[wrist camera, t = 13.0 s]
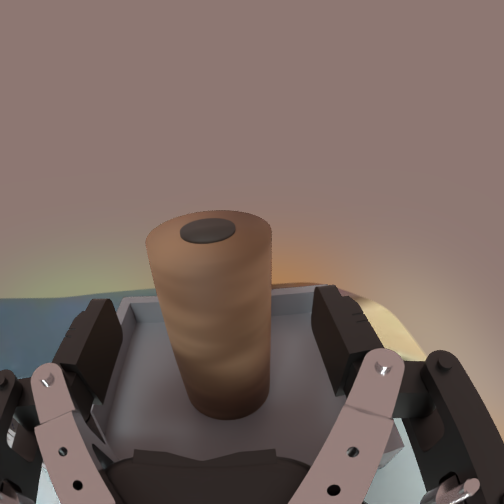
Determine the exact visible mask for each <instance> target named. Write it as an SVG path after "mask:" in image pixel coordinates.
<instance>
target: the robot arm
mask: <svg viewBox="0 0 504 504" xmlns="http://www.w3.org/2000/svg"><path fill="white" fill-rule="evenodd" d="M311 327H312V332H313V335H314V338H315V340H316V343H317V346H318V349H319V351H320V354H321V357H322V360H323V363H324V365H325V368H326V371H327V374H328V377H329V379H330V382H331V385H332V388H333V391H334V394H335V397H338V396H342V395H345V396H346V399H347V400H346V402H345V404H344V406H343V408H342V410H341V412H340V414H339V416H338V418H337V420H336V422H335V424H334V426H333V428H332V430H331V432H330V434H329V436H328V438H327V440H326V441H325V443H324V445H323V447H322V449H321V451H320V452H319V454H318V456H317V458H316V460H315V461H314V463H313V465H312V466H310V465H308V464H306V463H303V462H301V461H298V460H295V459H291V458H286V457H279V456H276V450H275V449H267V450H256V451H244V452H237V453H233V454H229V455H226V456H222V457H218V458H214V459H210V460H205V461H199V460H195V459H191V458H187V457H183V456H179V455H176V454H172V453H169V452H161V451H149V450H139V449H134V454H133V457H131V458H127V459H123V460H119V458H118V457H117V456H116V454H115V453H114V452H113V450H112V449H111V447H110V446H109V444H108V442H107V440H106V438H105V436H104V434H103V432H102V430H101V428H100V426H99V424H98V422H97V420H96V418H95V416H94V414H93V412H92V411H91V407H92V404H96V405H103V404H104V400H105V397H106V393H107V390H108V386H109V383H110V379H111V376H112V373H113V370H114V366H115V363H116V360H117V357H118V354H119V351H120V348H121V345H122V341H123V331H122V327H121V324H120V322H119V319H118V317H117V314H116V311H115V308H114V306H113V303H112V301H111V300H110V299H92V300H91V301H90V303H89V305H88V307H87V308H86V310H85V311H82V312H81V313H80V314H79V315H78V316H77V317H76V318H75V319H74V320H73V322H72V324H71V326H70V328H69V330H68V331H67V333H66V335H65V336H66V337H64V339H63V341H62V343H61V345H60V347H59V349H58V351H57V353H56V355H55V357H54V359H53V361H52V363H46V364H43V365H41V366H40V367H38V368H37V369H36V370H35V371H34V373H33V375H32V377H30V378H24V379H17V377H16V376H15V375H14V373H13V372H12V371H10V370H2V371H0V504H36V498H37V491H38V484H39V478H40V473H41V467H42V462H43V460H44V463H45V466H46V469H47V471H48V474H49V477H50V479H51V482H52V484H53V487H54V489H55V491H56V494H57V496H58V498H59V500H60V502H61V504H367V503H366V502H364V501H363V500H364V498H365V496H366V493H367V491H368V489H369V487H370V485H371V482H372V480H373V478H374V475H375V473H376V471H377V468H378V466H379V463H380V461H381V458H382V455H383V453H384V450H385V447H386V444H387V442H388V439H389V436H390V433H391V430H392V427H393V422H394V420H393V419H391V418H401V419H402V421H403V424H404V427H405V429H406V432H407V435H408V437H409V440H410V443H411V446H412V449H413V451H414V454H415V457H416V460H417V463H418V466H419V469H420V472H421V475H422V478H423V482H424V485H425V488H426V491H427V493H426V494H425V495H424V497H423V498H422V500H421V502H420V504H504V443H503V441H502V439H501V436H500V434H499V432H498V430H497V428H496V426H495V424H494V422H493V420H492V418H491V417H490V414H489V412H488V410H487V409H486V406H485V405H484V403H483V401H482V399H481V397H480V395H479V394H478V392H477V390H476V389H475V387H474V385H473V383H472V382H471V380H470V378H469V376H468V375H467V374H466V372H465V370H464V368H463V367H462V365H461V364H460V362H459V360H458V359H457V358H456V357H455V356H454V355H453V354H451V353H450V352H447V351H443V350H437V351H434V352H432V353H430V354H429V356H428V357H427V359H426V361H403V360H402V358H401V357H400V356H399V355H398V354H397V353H396V352H394V351H392V350H389V349H385V348H384V347H383V345H382V343H381V341H380V340H379V338H378V336H377V334H376V333H375V331H374V329H373V328H372V326H371V324H370V323H369V322H368V319H367V317H366V316H365V314H363V311H362V309H361V308H360V306H359V304H358V303H357V302H356V301H354V300H353V299H352V298H350V297H349V296H344V297H342V296H341V294H340V292H339V291H338V289H337V287H336V286H335V285H326V286H316V287H315V289H314V296H313V305H312V313H311ZM12 418H14V419H15V420H16V421H17V422H18V423H19V424H18V427H17V430H16V434H15V437H14V441H13V444H12V448H10V446H9V445H8V442H7V433H8V430H9V427H10V424H11V421H12Z"/></svg>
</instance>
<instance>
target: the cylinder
mask: <svg viewBox="0 0 504 504" xmlns="http://www.w3.org/2000/svg"><path fill="white" fill-rule="evenodd" d="M271 233H272V231H271V227H270V225H269V224H268V223H267V222H266V221H265V220H263V219H262V218H260V217H258V216H255V215H252V214H249V213H244V212H238V211H226V210H216V211H203V212H196V213H191V214H187V215H183V216H180V217H176V218H173V219H171V220H169V221H166V222H164V223H162V224H160V225H159V226H157V227H156V228H155V229H153V230H152V231H151V232H150V233H149V235H148V236H147V238H146V248H147V253H148V258H149V262H150V267H151V271H152V276H153V280H154V284H155V288H156V292H157V296H158V300H159V304H160V308H161V311H162V315H163V319H164V322H165V326H166V329H167V333H168V336H169V340H170V343H171V346H172V349H173V353H174V356H175V359H176V362H177V365H178V368H179V371H180V374H181V377H182V380H183V383H184V386H185V389H186V391H187V394H188V397H189V400H190V401H191V403H192V405H193V406H194V407H195V408H196V409H197V410H198V411H199V412H201V413H202V414H204V415H206V416H208V417H210V418H214V419H218V420H236V419H241V418H244V417H246V416H249V415H251V414H252V413H254V412H255V411H257V410H258V409H259V408H260V407H261V406H262V405H263V404H264V402H265V401H266V399H267V397H268V394H269V389H270V352H271V271H272V270H271V269H272V268H271V267H272V266H271V265H272V264H271V263H272V262H271V259H272V251H271V250H272V249H271V248H272V243H271V242H272V238H271V237H272V234H271Z"/></svg>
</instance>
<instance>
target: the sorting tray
mask: <svg viewBox="0 0 504 504" xmlns="http://www.w3.org/2000/svg"><path fill="white" fill-rule="evenodd" d="M326 285H327V284H325V285H315V286H304V287H293V288H281V289H271V352H270V389H269V394H268V397H267V399H266V401H265V402H264V404H263V405H262V406H261V407H260V408H259V409H258V410H257V411H255V412H254V413H252V414H251V415H249V416H246V417H244V418H241V419H236V420H218V419H214V418H210V417H208V416H206V415H204V414H202V413H201V412H199V411H198V410H197V409H196V408H195V407H194V406H193V405H192V403H191V401H190V400H189V397H188V394H187V391H186V389H185V386H184V383H183V380H182V377H181V374H180V371H179V368H178V365H177V362H176V359H175V356H174V353H173V349H172V346H171V343H170V340H169V336H168V333H167V329H166V326H165V322H164V319H163V315H162V311H161V308H160V304H159V300H158V296H145V297H123V299H122V301H121V304H120V306H119V308H118V310H117V313H116V314H117V317H118V319H119V322H120V324H121V327H122V331H123V341H122V345H121V348H120V351H119V354H118V357H117V360H116V363H115V366H114V370H113V373H112V376H111V379H110V383H109V386H108V390H107V393H106V397H105V400H104V404H103V405H96V404H92V407H91V411H92V412H93V414H94V416H95V418H96V420H97V422H98V424H99V426H100V428H101V430H102V432H103V434H104V436H105V438H106V440H107V442H108V444H109V446H110V447H111V449H112V450H113V452H114V453H115V454H116V456H117V457H118V458H119V460H123V459H127V458H131V457H133V454H134V449H139V450H149V451H161V452H169V453H172V454H176V455H179V456H183V457H187V458H191V459H195V460H199V461H205V460H210V459H214V458H218V457H222V456H226V455H229V454H233V453H237V452H244V451H256V450H267V449H275V450H276V456H279V457H286V458H291V459H295V460H298V461H301V462H303V463H306V464H308V465H310V466H312V465H313V463H314V461H315V460H316V458H317V456H318V454H319V452H320V451H321V449H322V447H323V445H324V443H325V441H326V440H327V438H328V436H329V434H330V432H331V430H332V428H333V426H334V424H335V422H336V420H337V418H338V416H339V414H340V412H341V410H342V408H343V406H344V404H345V402H346V400H347V399H346V396H345V395H342V396H338V397H335V394H334V391H333V388H332V385H331V382H330V379H329V377H328V374H327V371H326V368H325V365H324V363H323V360H322V357H321V354H320V351H319V349H318V346H317V343H316V340H315V338H314V335H313V332H312V327H311V313H312V305H313V296H314V289H315V287H316V286H326ZM391 419H393V418H391ZM403 447H404V444H403V442H402V439H401V437H400V435H399V432H398V430H397V427H396V425H395V423H394V422H393V427H392V430H391V433H390V436H389V439H388V442H387V444H386V447H385V450H384V453H383V455H382V458H381V461H380V463H379V466H378V468H377V469H379V468H382V467H384V466H385V465H386V464H387V463H388V462H389V461H390V460H391V459H393V458H394V457H395V456H396V455H397V454H398V453H399V452H400V450H401V449H402V448H403Z"/></svg>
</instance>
